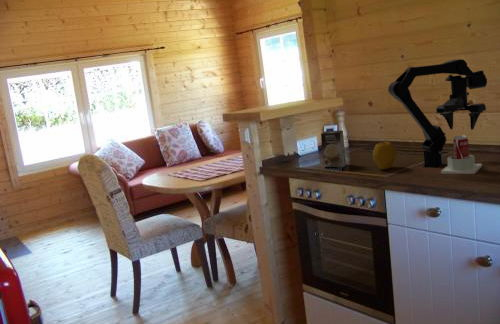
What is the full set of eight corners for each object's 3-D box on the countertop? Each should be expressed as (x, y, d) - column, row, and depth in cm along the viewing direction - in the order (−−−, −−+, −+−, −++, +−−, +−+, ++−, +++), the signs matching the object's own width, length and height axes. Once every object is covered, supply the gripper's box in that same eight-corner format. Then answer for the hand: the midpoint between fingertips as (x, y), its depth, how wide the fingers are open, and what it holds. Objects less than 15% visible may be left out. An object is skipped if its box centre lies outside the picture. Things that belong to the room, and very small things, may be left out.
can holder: (441, 173, 198) (440, 160, 197) (449, 166, 207) (448, 154, 206) (474, 173, 191) (473, 160, 190) (481, 166, 200) (481, 153, 199)
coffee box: (323, 168, 238) (319, 133, 235) (327, 165, 243) (323, 131, 240) (343, 167, 234) (339, 132, 231) (347, 164, 239) (343, 129, 236)
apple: (396, 170, 213) (394, 142, 211) (372, 172, 216) (369, 144, 214) (398, 165, 222) (396, 138, 220) (375, 166, 225) (372, 140, 223)
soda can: (452, 167, 201) (450, 136, 199) (465, 165, 201) (463, 134, 199) (459, 169, 196) (456, 138, 194) (472, 167, 196) (470, 136, 194)
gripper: (426, 94, 211) (429, 132, 214) (469, 92, 196) (472, 133, 199) (442, 91, 218) (445, 127, 220) (485, 88, 202) (487, 128, 205)
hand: (461, 129), depth 211 cm, fingers open, 9 cm apart
